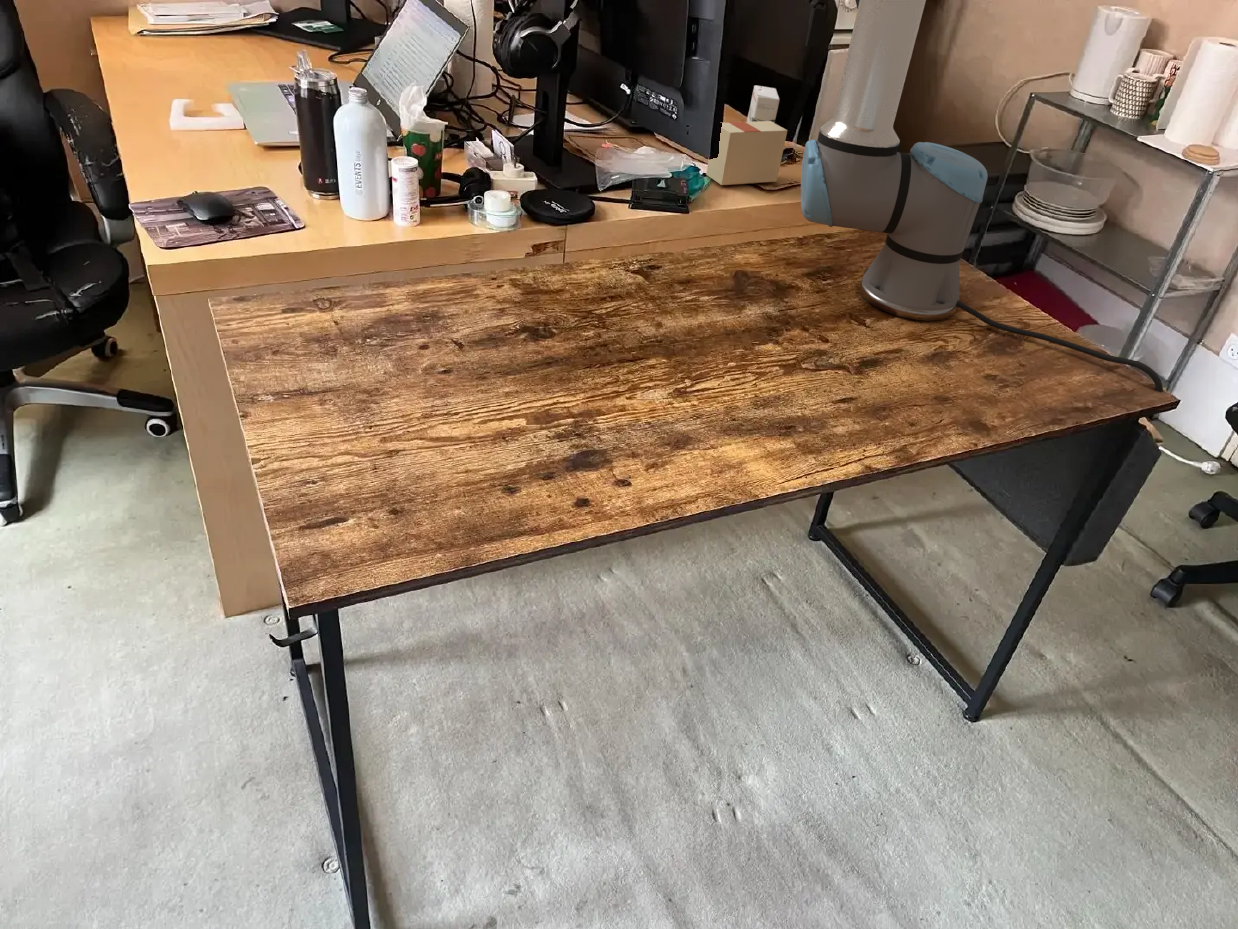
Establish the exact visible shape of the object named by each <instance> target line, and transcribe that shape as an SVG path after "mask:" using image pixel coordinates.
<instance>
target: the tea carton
mask: <svg viewBox="0 0 1238 929" xmlns="http://www.w3.org/2000/svg"><path fill="white" fill-rule="evenodd" d="M721 123H722V127H721V133H720V141H719V154H718V157H717V158H713V159H711V160H709V159H708V160H707V166H706V172H705V175H706V176H707V177H709V178H710V179H711V180H713V181H715V182H716V183H718V184H719V185H721V186H729V185H746V184H758V183H773V182H774V183H775V182H778V178H779V173H780V169H781V163H782V158H783V155H784V149H785V144H786V139H787V134H788V129H786V128H784V127H782V126H780V125H779V124H777V123H776V122H775V123H773V122H771V121H757V122H747V121H728V122H721Z"/></svg>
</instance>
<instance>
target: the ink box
mask: <svg viewBox="0 0 1238 929" xmlns="http://www.w3.org/2000/svg"><path fill="white" fill-rule="evenodd" d="M779 104H780V97H779V94H778V91H777V88H776V87H769V86H763V85H758V84H757V85H753V90H752V95H751V99H750V105H749V110H748V114H747V118H746V122H757V121H771V122H773V123H775V124H776V119H777V118H776V117H777V113H778V109H779Z"/></svg>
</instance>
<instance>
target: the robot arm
mask: <svg viewBox="0 0 1238 929" xmlns="http://www.w3.org/2000/svg"><path fill="white" fill-rule="evenodd" d="M829 1H830V0H805V2H806V3H808V4H809V6H810V8H811V10H810V13H809V14H810V15H809V20H808V30H807V35H806V39H805V44H804V46H805V47H806V48H807V47H808V48H810V47H811V48H812V47H813V48H815V47H818V48H819V47H820V46H819V45H820V42H821V36H822V31H823V27H824V23H825V22H824V21H825V18H826V13H827V10H826V9H827V6H826V5H827V3H828V2H829ZM926 2H927V0H855V5H856V9H857V11H856V15H855V19H854V23H853V28H852V32H851V37H850V41H849V46H848V50H847V55H846V59H845V64H844V68H843V72H842V77H841V81H840V85H839V90H838V95H837V99H836V103H835V107H834V112H833V116H832V118H831V119H829V120H828V121H827V122H825V123H824V124H823V125H822V126H820V127H819V131H818V135H817V139H811V140H807V141H806V143H805V145H804V152H803V156H802V164H801V176H800V210H801V214H802V216H803V218H804V219H805V220H806V221H808V222H810V223H814V224H819V225H825V226H828V227H830V228H833V227H837V228H843V229H844V228H845V229H852V230H859V231H868V232H876V233H883V234H886V238H885V241H884V244H883V246H882V247H881V249H880V251H879V252H878V253H877V255H876V256H875V258H874V259H873V261H872V263H871V264H870V265H869V267H867V268H866V269H865V270H864V273H863V274H864V275H863V276H862V279H861V282H860V285H859V293H860V295H861V296H862V297H863V298H864V299H865V301H866V302H868V303H869V304H871V305H872V306H874V307H875V308H878V309H879V310H881V311H883V312H887V314H891V315H894V316H897V317H901V318H904V319H905V318H906V319H911V320H915V321H939V320H945V319H947V318H950V317H952V316H953V315H954V314H956V310H957V308H959V309H960V310H963V311H965V313H966V312H967V313H968V314H970V315H972V316H973V317H975V318H977V319H978V320H980V321H981V322H983V323H985V324H986V325H988V326H990V327H992V328H995V329H997V330H1001V331H1004V332H1006V333H1011V334H1016V335H1020V336H1025V337H1029V338H1033V339H1038V340H1041V341H1045V342H1048V343H1052V344H1056V345H1059V346H1061V347H1064V348H1067V349H1071V350H1074V351H1078V352H1080V353H1082V354H1086V355H1088V356H1091V357H1094V358H1097V359H1100V360H1103V361H1107V362H1111V363H1116V364H1121V365H1126V366H1130V367H1134V368H1137V369H1139V370H1141V371H1142V372H1144V373H1146V374H1147V376H1149V378H1150V379H1151V380H1152V382H1153V383H1154V388H1155V391H1156V392H1159V393H1163V392H1164V387H1163V382H1162V380H1161V378H1160V376H1159V375H1158V374H1157V372H1155V370H1153V369H1152V368H1151V367H1150V366H1148V365H1147V364H1145V363H1143V362H1140V361H1138V360H1134V359H1130V358H1126V357H1125V358H1124V357H1120V356H1115V355H1111V354H1107V353H1103V352H1101V351H1098V350H1095V349H1091V348H1089V347H1086V346H1084V345H1080V344H1077V343H1075V342H1072V341H1068V340H1065V339H1061V338H1058V337H1056V336H1052V335H1047V334H1045V333H1041V332H1036V331H1032V330H1028V329H1023V328H1022V329H1021V328H1019V327H1014V326H1011V325H1007V324H1003V323H1000V322H998V321H995V320H993V319H991V318H989V317H988V316H986V315H984V314H983V313H981V312H980V311H978V310H976V309H974V308H973V307H971V306H970V305H967V304H965V303H964V302H962V301H960V263H961V259H962V257H963V254H964V251H965V248H966V245H967V242H968V239H969V236H970V234H971V231H972V227H973V225H974V222H975V219H976V216H977V213H978V211H979V208H980V205H981V204H982V202H983V200H984V193H985V191H986V190H985V189H986V185H987V182H988V171H987V169H986V167H985V166H984V165H983V164H982V162H980V161H979V160H977V159H976V158H974V157H972V156H971V155H969V154H967V153H964V152H963V151H960V150H957V149H955V148H952V147H950V146H946V145H943V144H939V143H934V142H930V141H929V142H928V141H925V142H922V141H918V142H915V143H914V144H913V146H912V147H911V148H910V150H909V153H906V152H899V151H898V150H899V147H900V144H901V143H900V142H901V141H900V138H899V136H898V134H897V132H896V131H895V129H894V123H895V120H896V117H897V114H898V113H897V112H898V109H899V105H900V102H901V96H902V93H903V90H904V85H905V81H906V78H907V75H908V74H907V73H908V70H909V66H910V62H911V59H912V56H913V51H914V47H915V44H916V39H917V36H918V32H919V28H920V24H921V20H922V16H923V13H924V9H925V5H926Z"/></svg>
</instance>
